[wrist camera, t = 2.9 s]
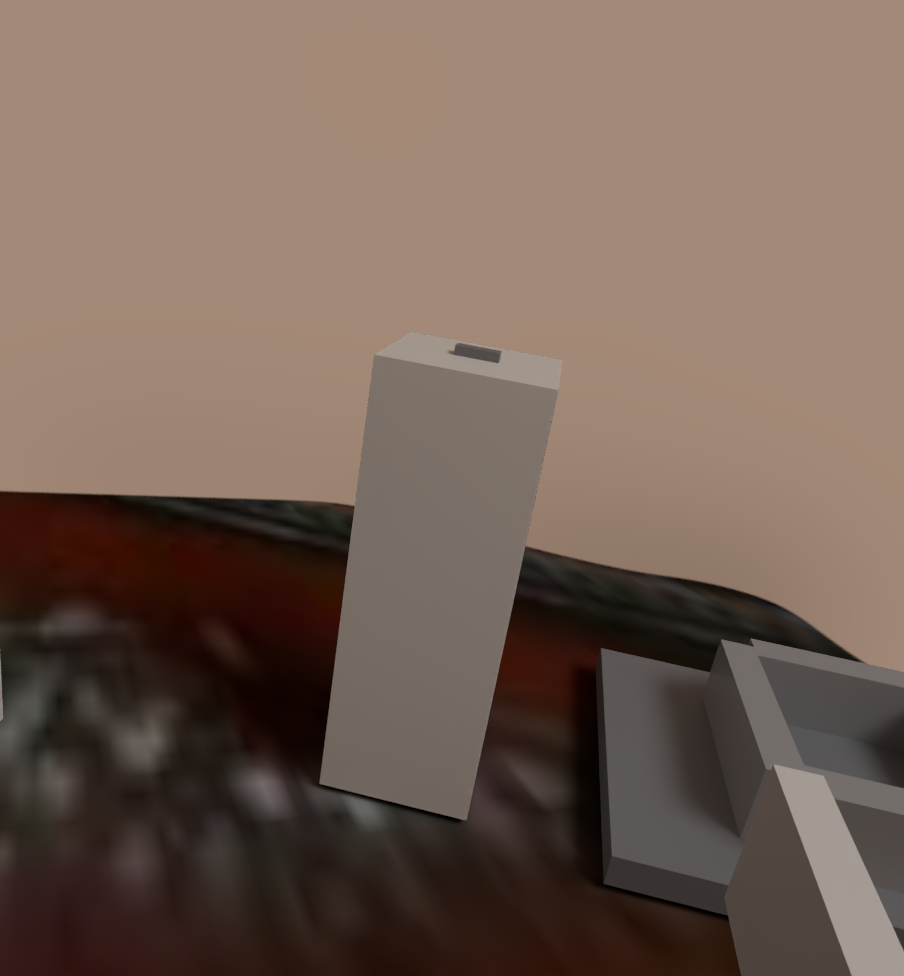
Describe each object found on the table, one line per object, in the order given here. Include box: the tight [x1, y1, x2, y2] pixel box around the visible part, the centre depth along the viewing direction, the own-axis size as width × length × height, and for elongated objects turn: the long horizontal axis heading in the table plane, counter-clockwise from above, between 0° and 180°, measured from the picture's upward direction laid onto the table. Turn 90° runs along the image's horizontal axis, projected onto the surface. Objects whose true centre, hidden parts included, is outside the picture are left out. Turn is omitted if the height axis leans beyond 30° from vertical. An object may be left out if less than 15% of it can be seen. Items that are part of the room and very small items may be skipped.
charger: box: [319, 332, 562, 820], centre depth 22 cm, size 4×4×13 cm
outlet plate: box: [596, 639, 904, 951], centre depth 25 cm, size 16×11×4 cm
